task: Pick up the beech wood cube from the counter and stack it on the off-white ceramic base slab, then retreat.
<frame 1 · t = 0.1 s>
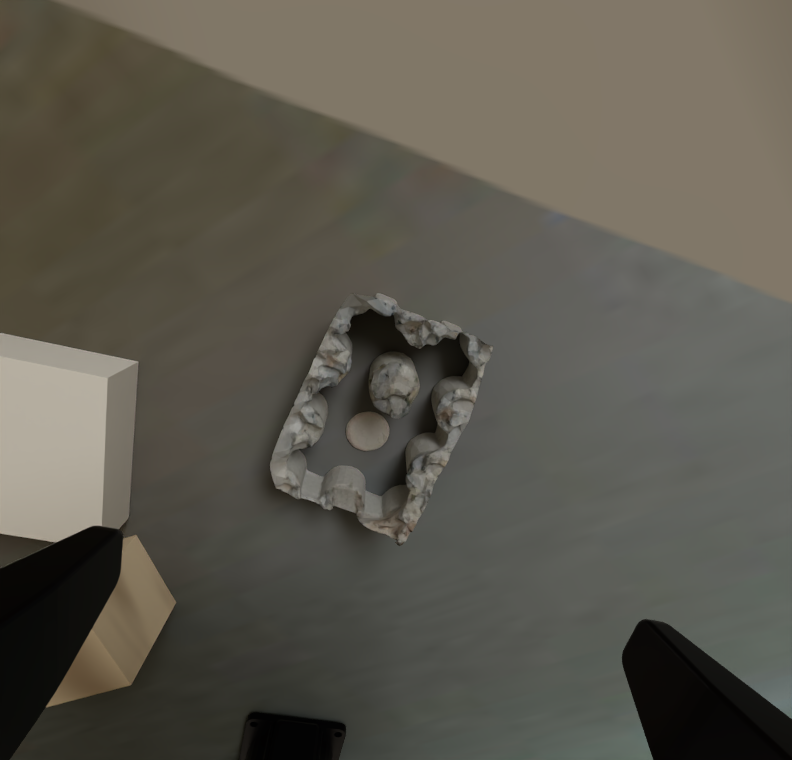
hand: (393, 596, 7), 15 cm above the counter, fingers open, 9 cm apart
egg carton: (376, 398, 22), on the counter
cube: (117, 580, 25), on the counter
base: (39, 426, 22), on the counter
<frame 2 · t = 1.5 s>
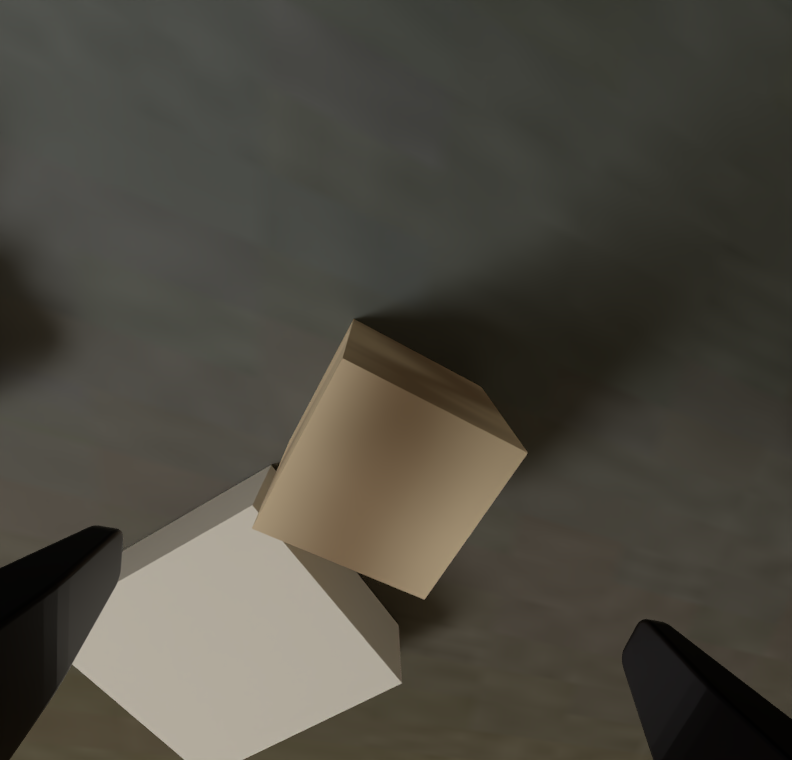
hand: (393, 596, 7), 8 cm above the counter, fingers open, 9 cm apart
cube: (384, 413, 15), on the counter
base: (246, 601, 18), on the counter
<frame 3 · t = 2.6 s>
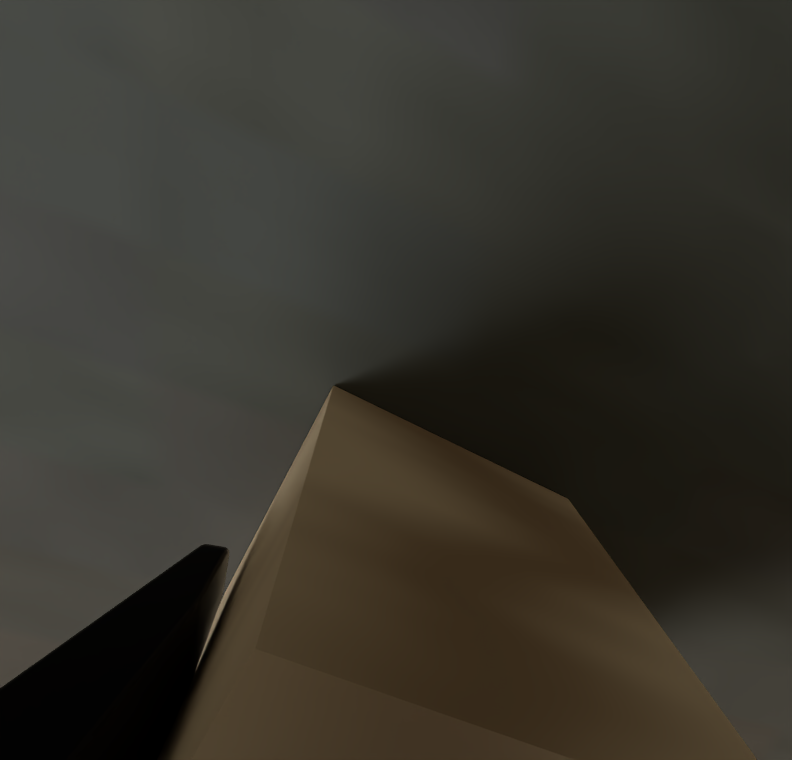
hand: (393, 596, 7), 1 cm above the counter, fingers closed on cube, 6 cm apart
cube: (392, 547, 9), on the counter, touching gripper
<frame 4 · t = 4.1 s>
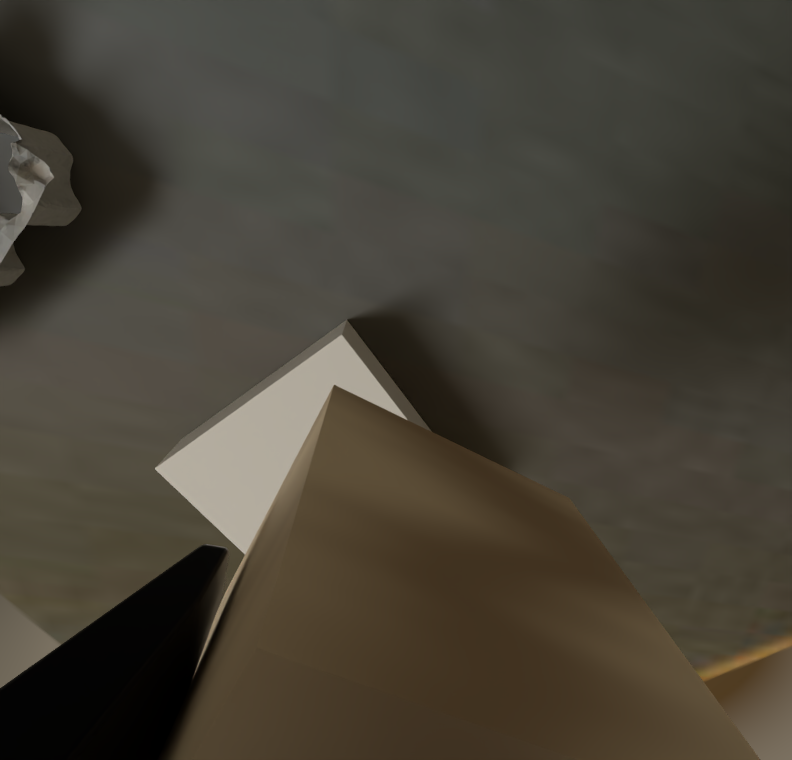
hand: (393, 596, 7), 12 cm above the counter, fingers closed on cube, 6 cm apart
cube: (393, 546, 9), point 10 cm above the counter, touching gripper
base: (328, 457, 19), on the counter
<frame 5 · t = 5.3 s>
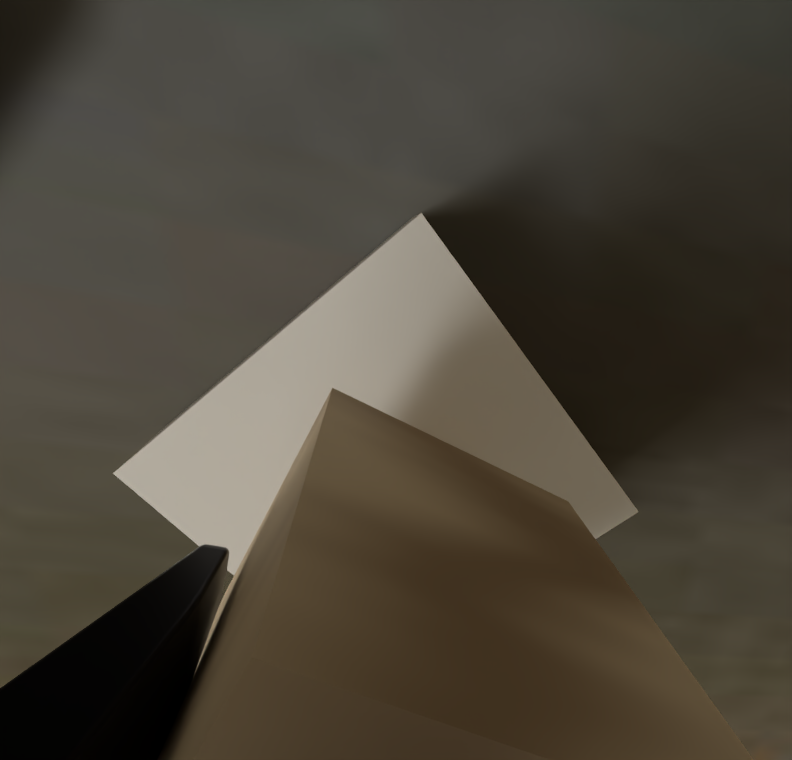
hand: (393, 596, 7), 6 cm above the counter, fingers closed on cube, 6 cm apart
cube: (392, 549, 9), point 5 cm above the counter, touching gripper
base: (385, 446, 13), on the counter
when the fingers open (5 cm above the counter, at t = 5.9 s): cube drops 1 cm, resting on base.
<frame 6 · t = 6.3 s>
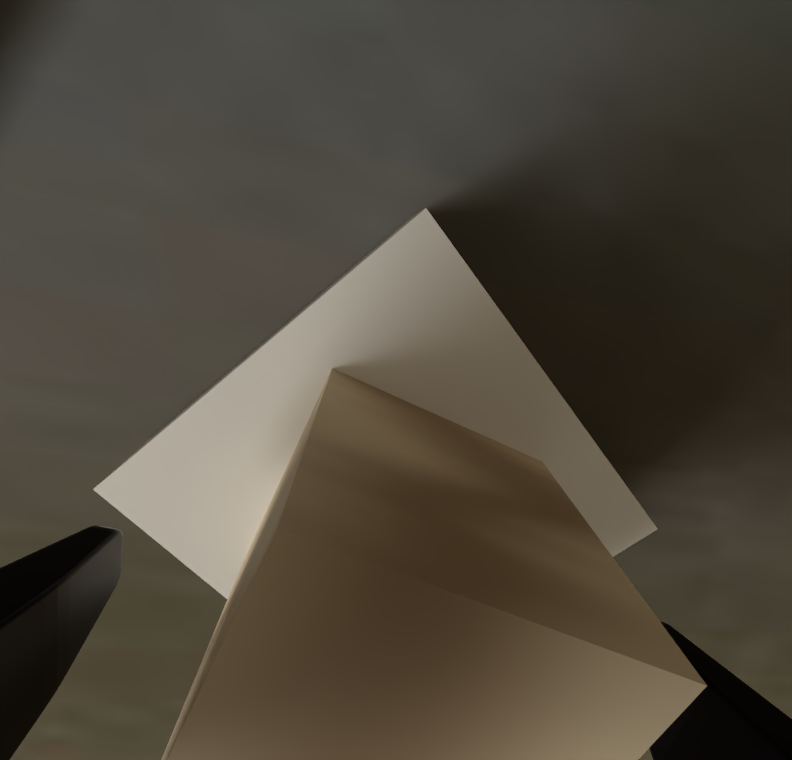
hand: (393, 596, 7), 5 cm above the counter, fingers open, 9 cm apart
cube: (390, 510, 10), point 2 cm above the counter, touching base
base: (386, 456, 12), on the counter
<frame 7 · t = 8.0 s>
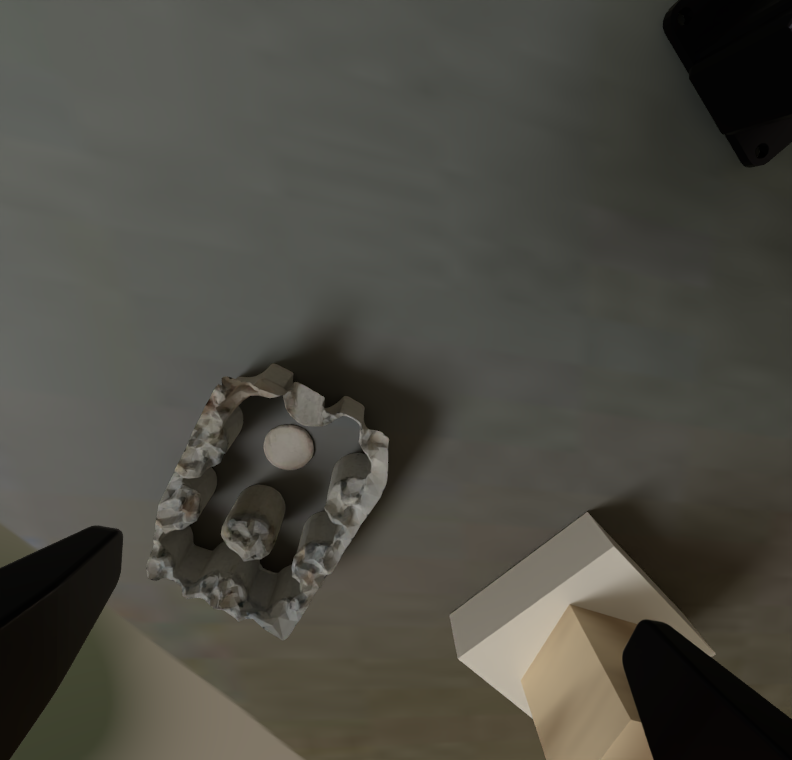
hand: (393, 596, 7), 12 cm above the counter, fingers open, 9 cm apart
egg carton: (280, 473, 20), on the counter
cube: (589, 656, 21), point 2 cm above the counter, touching base
base: (567, 613, 23), on the counter
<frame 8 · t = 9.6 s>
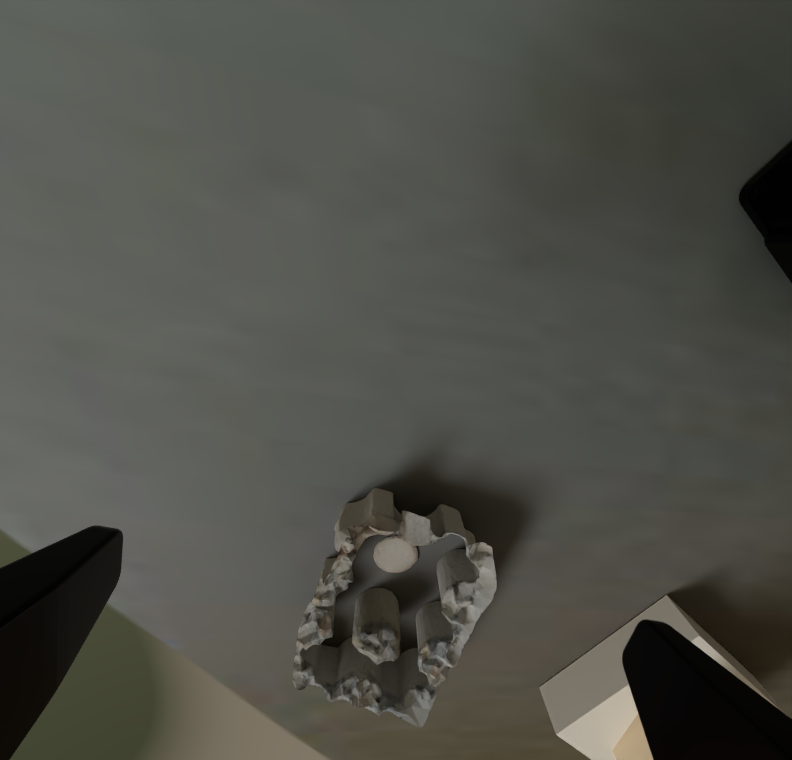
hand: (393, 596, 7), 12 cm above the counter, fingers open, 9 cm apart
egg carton: (389, 574, 23), on the counter
cube: (675, 727, 23), point 2 cm above the counter, touching base
base: (647, 681, 25), on the counter
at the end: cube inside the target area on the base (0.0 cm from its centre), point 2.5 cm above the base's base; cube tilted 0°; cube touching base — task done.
